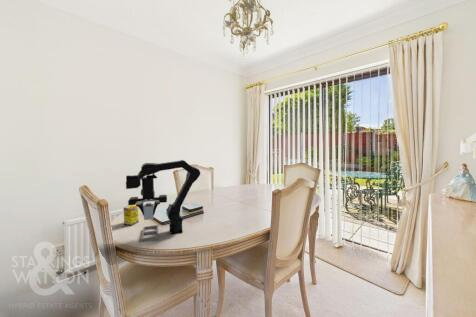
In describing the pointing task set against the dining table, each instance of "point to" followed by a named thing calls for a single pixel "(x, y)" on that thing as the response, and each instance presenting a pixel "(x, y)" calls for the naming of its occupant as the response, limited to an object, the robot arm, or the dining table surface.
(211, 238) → the dining table surface
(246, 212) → the dining table surface
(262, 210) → the dining table surface
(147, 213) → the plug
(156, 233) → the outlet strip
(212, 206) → the dining table surface
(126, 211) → the supplement box
